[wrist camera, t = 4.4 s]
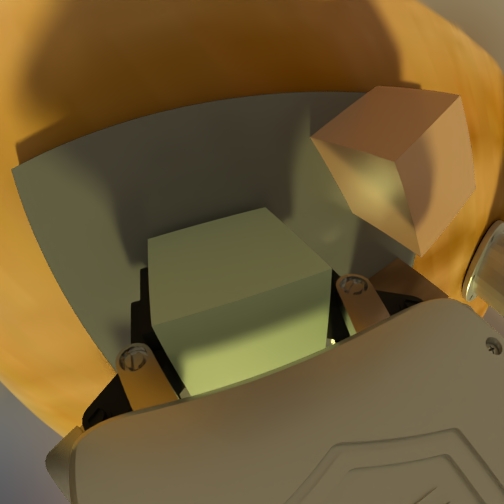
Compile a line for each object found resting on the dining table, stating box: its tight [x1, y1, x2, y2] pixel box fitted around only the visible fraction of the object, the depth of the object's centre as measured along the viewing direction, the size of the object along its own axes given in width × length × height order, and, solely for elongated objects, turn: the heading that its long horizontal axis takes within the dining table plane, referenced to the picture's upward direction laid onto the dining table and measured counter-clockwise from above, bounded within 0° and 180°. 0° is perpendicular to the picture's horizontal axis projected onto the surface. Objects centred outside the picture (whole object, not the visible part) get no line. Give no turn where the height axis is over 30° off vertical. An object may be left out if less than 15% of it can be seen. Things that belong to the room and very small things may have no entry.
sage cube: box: [148, 207, 332, 396], centre depth 10 cm, size 5×5×5 cm
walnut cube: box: [368, 258, 449, 302], centre depth 17 cm, size 5×5×5 cm
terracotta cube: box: [310, 86, 476, 257], centre depth 11 cm, size 5×5×5 cm
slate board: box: [11, 92, 416, 373], centre depth 15 cm, size 22×20×1 cm
